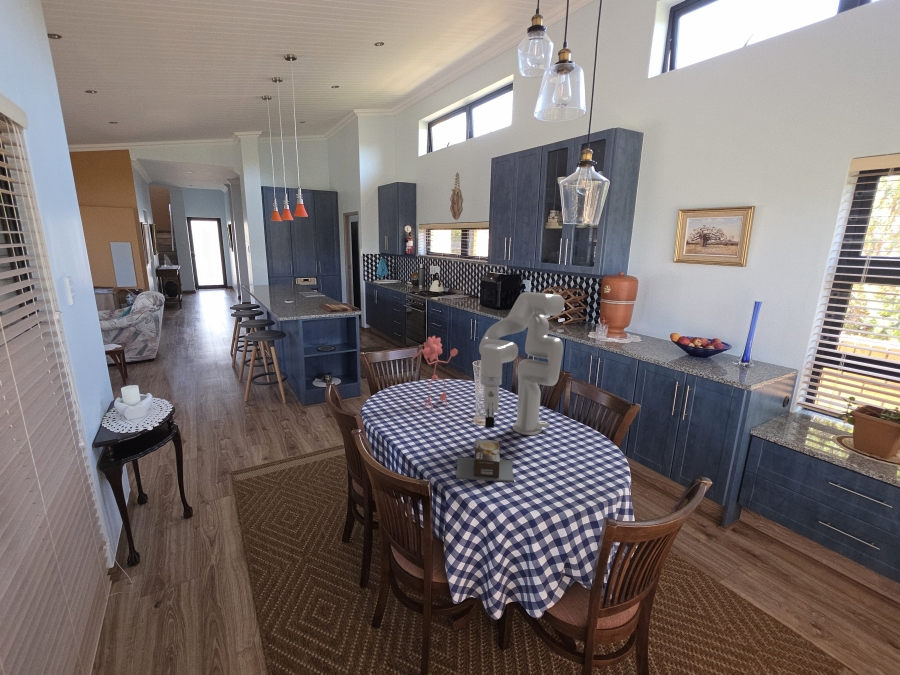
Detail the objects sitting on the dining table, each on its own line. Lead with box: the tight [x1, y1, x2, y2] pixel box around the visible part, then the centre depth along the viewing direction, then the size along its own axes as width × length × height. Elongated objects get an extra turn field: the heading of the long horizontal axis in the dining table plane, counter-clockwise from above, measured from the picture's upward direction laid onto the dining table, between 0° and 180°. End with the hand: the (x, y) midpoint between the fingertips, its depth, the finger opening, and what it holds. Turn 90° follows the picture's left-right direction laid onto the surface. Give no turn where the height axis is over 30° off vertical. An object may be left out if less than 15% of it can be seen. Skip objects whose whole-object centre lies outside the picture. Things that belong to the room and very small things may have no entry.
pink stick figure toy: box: [410, 335, 459, 411], centre depth 217 cm, size 15×26×35 cm, turn 131°
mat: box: [455, 457, 515, 483], centre depth 158 cm, size 20×14×1 cm
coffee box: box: [473, 439, 501, 478], centre depth 159 cm, size 9×6×16 cm
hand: (489, 426), depth 160 cm, fingers closed
